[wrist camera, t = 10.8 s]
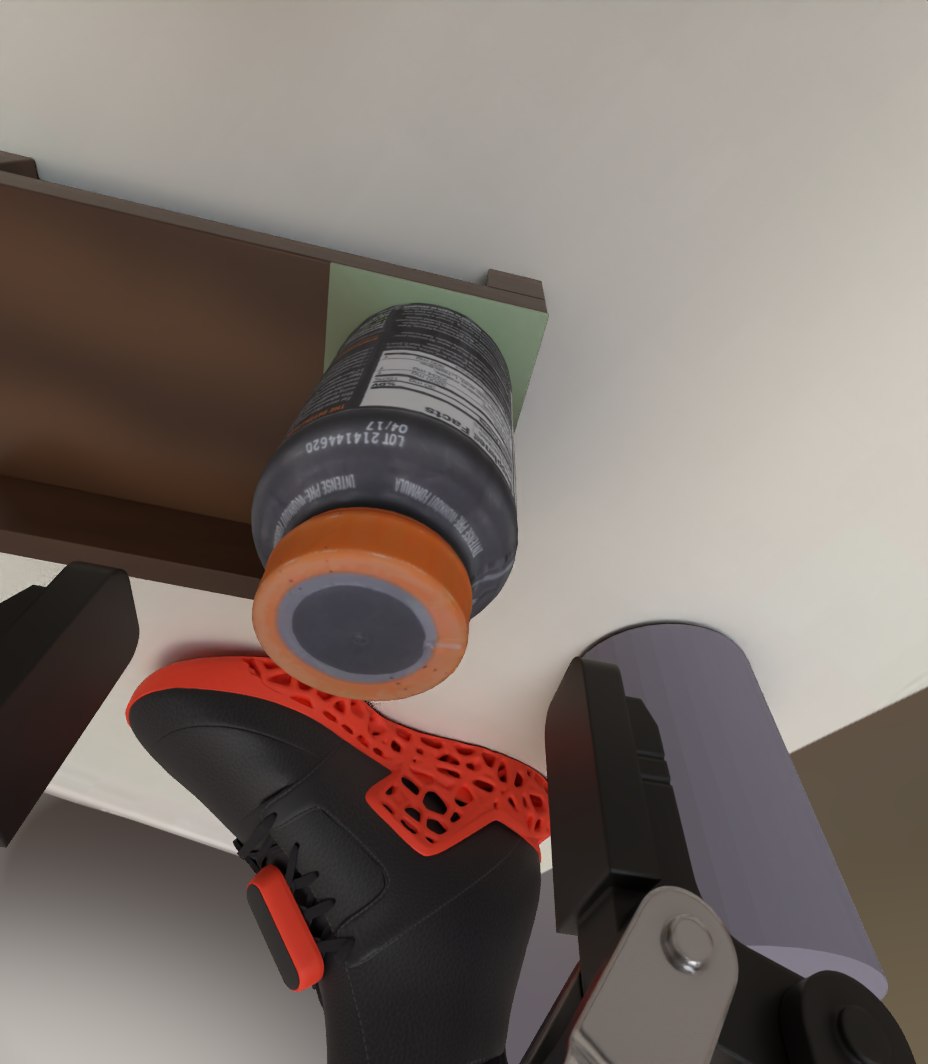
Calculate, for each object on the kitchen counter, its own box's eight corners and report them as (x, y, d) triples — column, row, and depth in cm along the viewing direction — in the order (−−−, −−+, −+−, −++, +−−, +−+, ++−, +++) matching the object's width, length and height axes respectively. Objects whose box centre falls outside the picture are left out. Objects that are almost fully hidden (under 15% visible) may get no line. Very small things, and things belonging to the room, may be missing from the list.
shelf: (-27, 143, 19) (-241, 161, 14) (542, 281, 21) (555, 346, 15) (52, 448, 27) (-67, 540, 21) (472, 533, 28) (464, 639, 23)
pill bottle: (380, 483, 22) (292, 754, 13) (304, 333, 18) (113, 556, 9) (533, 441, 20) (555, 713, 11) (481, 270, 17) (454, 462, 8)
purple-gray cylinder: (642, 592, 30) (732, 920, 18) (788, 662, 32) (954, 990, 20) (536, 697, 36) (551, 998, 24) (667, 749, 38) (741, 1045, 26)
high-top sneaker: (595, 778, 41) (650, 1196, 25) (499, 842, 47) (495, 1204, 32) (179, 604, 32) (-121, 1066, 17) (133, 712, 39) (-112, 1114, 24)
